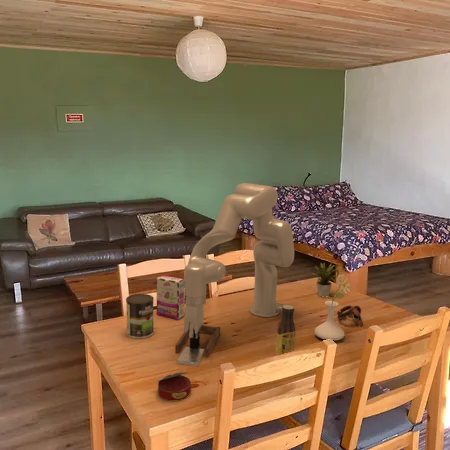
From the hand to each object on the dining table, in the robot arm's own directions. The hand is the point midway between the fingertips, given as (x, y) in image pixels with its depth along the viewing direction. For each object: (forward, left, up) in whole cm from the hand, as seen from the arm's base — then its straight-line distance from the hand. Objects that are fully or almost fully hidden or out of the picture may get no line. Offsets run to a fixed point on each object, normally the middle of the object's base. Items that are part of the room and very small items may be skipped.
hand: (194, 347), depth 171 cm
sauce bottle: (-32, 0, -1) cm, 32 cm away
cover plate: (0, +6, -2) cm, 6 cm away
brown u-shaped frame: (0, -6, -1) cm, 6 cm away
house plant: (-45, -68, -1) cm, 81 cm away
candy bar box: (+18, -28, -1) cm, 33 cm away
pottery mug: (-56, -40, -1) cm, 69 cm away
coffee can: (+24, -9, -1) cm, 25 cm away
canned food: (-1, +27, -2) cm, 27 cm away
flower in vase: (-48, -24, -1) cm, 53 cm away
